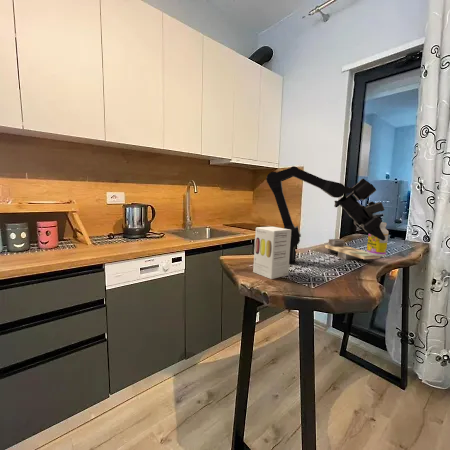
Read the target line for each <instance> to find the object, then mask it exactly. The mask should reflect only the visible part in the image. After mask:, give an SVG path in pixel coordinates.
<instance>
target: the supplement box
mask: <svg viewBox="0 0 450 450" xmlns="http://www.w3.org/2000/svg"><path fill="white" fill-rule="evenodd" d="M254 235H255V236H254V248H253V249H254V251H253V267H252V268H253V273H255V274H257V275H259V276H262V277H263V278H264V277H265V278H268V279H270V280H273V279H277V278H281V277H285V276H289V269H290V267H289V266H290V264H289V257H290V242H291V230H290V229H284V227H283V228H282V227H277V226H260V227H258V226H257V227H255V234H254Z"/></svg>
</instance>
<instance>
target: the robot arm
mask: <svg viewBox="0 0 450 450" xmlns="http://www.w3.org/2000/svg"><path fill="white" fill-rule="evenodd" d="M292 178H295V179H298V180H300V181H303V182H305V183H306V184H310V185H312V186H314V187H316V188H318V189H320V190H321V191H323V192H324V193H326V194H327V195H328V196H330V197H332V198H334V199H335V198H336V199H337V198H340V199H338V200H334V208H338V207H339V206H340V207H341V208H342V209H343V210H344V211H345V212H346V213H347V215H348V216H349V217H350V218H351V219H352V220H353V225H355V227H357V228H358V229H360V230H361V231H363V232H366V233H368V234H371V235H373V236H375V237H377V238H379V239H381V240H383V241H384V240H385V239H386V238H385V236H384V235H383V233H382V231H381V229H380V224H381V222H383V219H381V218H380V217H379V216H374V214H377V213H379V212H384V211H386V210H385V207H384V205H383V202H382V201H381V202H380V201H379V202H374V201H369V202H367V206H365V205H362V204H361V203H360V202H359V201H361V200H362V201H365V200H367V198H369V197H370V196H371V195H373V194H374V193H375V192H376V191H377V189H376V187H375V186H374V185H373V184H372V183H371V182H369V181H368V180H366V179H365V178H361V179H360V180H359V181H358V182H357V183H356V184H355V185H353V186H352V187H351V186H345V185H344V184H343V183H341V182H336V181H333V180H328V179H324V178H322V177H320V176H317V175H314V174H312V173H310V172H308V171H306V170H303V169H301V168H298V167H297V166H294V165H293V166H291V167H289V168H286V169H283V170H279V171H278V172H277V171H271V172H269V173H268V174H267V175H266V183H267V185H268V186H269V189H270V190H271V192H272V194H273V196H274V199H275V202H276V205H277V208H278V210H279V211H278V212H279V213H280V217H281V221H282V224H283V228H284V229H290V230H291V242H290V257H289V265H291V264H292V265H293V264H297V258H296V257H297V251H296V248H295V246H298V245H299V243H300V242H301V239H300V238H301V237H302V234H301V232H300V231H299V226H298V225H296V226H295V225H294V223H293V221H292V220H293V219H292V217H291V213H290V211H289V210H290V209H289V207H288V205H287V201H286V198H285V194H284V191H283V182H284V181H287V180H289V179H292ZM346 194H348V195H347V196H344V195H346Z"/></svg>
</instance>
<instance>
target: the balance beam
mask: <svg viewBox="0 0 450 450" xmlns="http://www.w3.org/2000/svg"><path fill="white" fill-rule="evenodd" d="M344 243H345V240H344V239H339V238H332V239H331V238H330V239H328V244H325V246H324V247H325V249H327V253H328V254H337V258H338V259H339V258H340V259H342V260H345V261H348V260H359V259H361V260H362V259H363V260H371V259H374V260H376V259H381V256H373V255H369V254H367V250H363V249H362V250H361V249H359V248H354V247H350V246H347V245H344Z"/></svg>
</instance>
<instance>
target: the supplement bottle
mask: <svg viewBox="0 0 450 450" xmlns="http://www.w3.org/2000/svg"><path fill="white" fill-rule="evenodd" d="M386 227H387V222H384V221H382V222H381V224H380V229H381V231H382V233H383V235H384V236H385V238H386V239H385V240H384V241H383V240H381V239H379V238H377V237H375V236H373V235H371V234H369V233H368V236H367V243H366V251H367V254H369V255H373V256H380V257H385V256H386V255H387V249H388V239H389V233H390V232H389V230H388V229H387V228H386Z"/></svg>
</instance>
